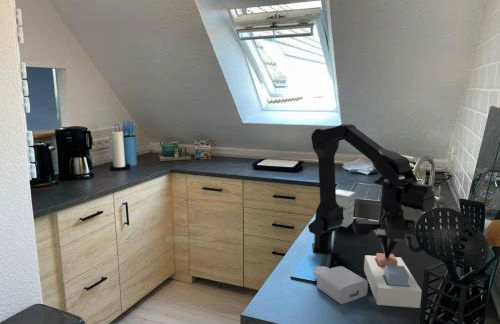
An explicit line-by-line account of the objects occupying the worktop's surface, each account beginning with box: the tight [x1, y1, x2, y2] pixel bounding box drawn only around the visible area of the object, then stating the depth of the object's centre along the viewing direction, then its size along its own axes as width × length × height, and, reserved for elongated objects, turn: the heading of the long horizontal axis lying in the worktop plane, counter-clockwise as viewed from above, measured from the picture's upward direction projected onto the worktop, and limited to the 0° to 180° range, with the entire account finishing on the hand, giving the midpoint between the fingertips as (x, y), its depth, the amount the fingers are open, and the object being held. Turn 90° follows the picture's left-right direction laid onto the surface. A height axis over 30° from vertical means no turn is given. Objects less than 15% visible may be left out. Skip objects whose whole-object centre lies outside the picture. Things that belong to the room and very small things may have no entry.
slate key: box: [384, 265, 409, 287], centre depth 95 cm, size 5×5×4 cm
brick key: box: [375, 252, 398, 267], centre depth 105 cm, size 5×5×4 cm
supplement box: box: [336, 189, 356, 228], centre depth 147 cm, size 7×7×13 cm
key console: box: [363, 254, 423, 309], centre depth 101 cm, size 18×10×4 cm, turn 173°
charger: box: [312, 265, 369, 305], centre depth 100 cm, size 5×9×15 cm
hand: (386, 257), depth 105 cm, fingers closed, pressing on brick key
